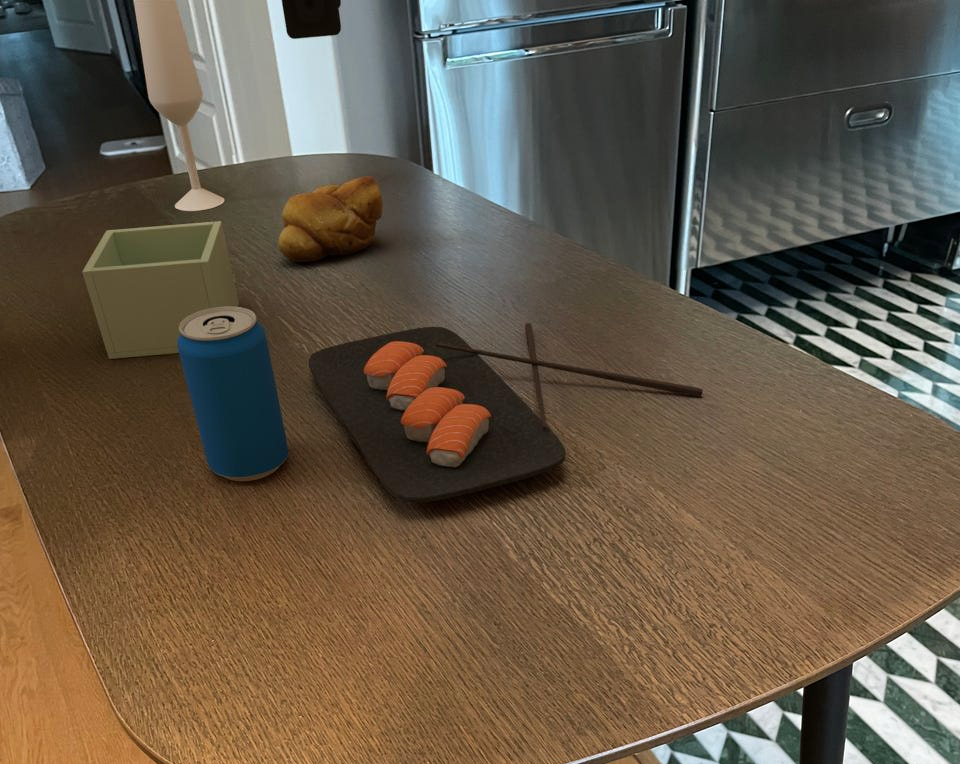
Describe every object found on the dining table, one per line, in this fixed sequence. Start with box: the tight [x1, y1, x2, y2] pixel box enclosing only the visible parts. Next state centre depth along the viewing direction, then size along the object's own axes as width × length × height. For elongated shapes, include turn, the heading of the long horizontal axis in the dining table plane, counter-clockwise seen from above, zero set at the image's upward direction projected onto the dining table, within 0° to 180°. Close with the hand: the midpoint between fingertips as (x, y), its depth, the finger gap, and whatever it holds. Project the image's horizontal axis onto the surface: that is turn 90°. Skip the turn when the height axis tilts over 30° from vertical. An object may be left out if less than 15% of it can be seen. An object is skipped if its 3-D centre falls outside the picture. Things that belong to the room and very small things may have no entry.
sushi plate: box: [308, 322, 704, 504], centre depth 86 cm, size 29×30×4 cm
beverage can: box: [177, 306, 290, 482], centre depth 77 cm, size 6×6×12 cm
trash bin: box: [81, 220, 240, 360], centre depth 100 cm, size 12×12×9 cm
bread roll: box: [277, 176, 384, 262], centre depth 116 cm, size 13×10×8 cm
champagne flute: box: [133, 0, 225, 212], centre depth 128 cm, size 7×7×24 cm
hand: (316, 22), depth 63 cm, fingers open, 9 cm apart
